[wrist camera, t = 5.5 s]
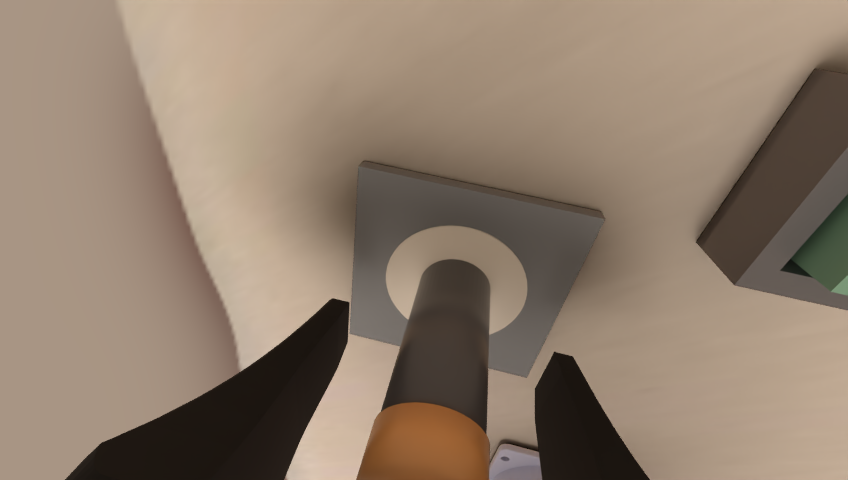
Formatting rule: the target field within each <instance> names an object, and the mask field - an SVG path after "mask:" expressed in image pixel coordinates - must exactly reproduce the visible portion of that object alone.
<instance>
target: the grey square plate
mask: <svg viewBox="0 0 848 480" xmlns="http://www.w3.org/2000/svg"><path fill="white" fill-rule="evenodd" d="M604 221H605V218H604V216H603V214H602V212H601V211H596V210H592V209H587V208H582V207H578V206H573V205H568V204H564V203H559V202H554V201H550V200H545V199H540V198H535V197H531V196H526V195H521V194H517V193H512V192H507V191H503V190H498V189H493V188H489V187H484V186H479V185H474V184H470V183H465V182H460V181H456V180H451V179H446V178H442V177H437V176H432V175H428V174H423V173H418V172H414V171H409V170H404V169H399V168H395V167H390V166H385V165H381V164H376V163H371V162H367V161H363V162H362V163H361V164H360V165H359V166H358V185H357V204H356V223H355V243H354V262H353V281H352V300H351V319H350V334H353V335H357V336H361V337H365V338H369V339H373V340H377V341H381V342H385V343H389V344H393V345H397V346H401V343H402V340H403V336H404V333H405V330H406V326H407V323H408V319H409V316H410V313H411V309H412V306H413V303H414V299H415V296H416V293H417V289H418V286H419V283H420V279H421V276H422V274H423V272H424V271H425V270H426V269H427V268H428V267H429V266H430V265H432V264H433V263H435V262H438V261H441V260H446V259H458V260H463V261H466V262H469V263H471V264H473V265H475V266H477V267H478V268H479V269H480V270H482V271H483V273H484V274H485V275H486V277H487V278H488V280H489V283H490V324H489V359H488V368H490V369H494V370H498V371H502V372H506V373H510V374H514V375H518V376H522V377H526V378H527V376H528V374H529V372H530V370H531V368H532V366H533V364H534V362H535V360H536V358H537V356H538V354H539V352H540V350H541V348H542V346H543V344H544V342H545V340H546V338H547V336H548V334H549V332H550V330H551V328H552V326H553V324H554V322H555V320H556V318H557V316H558V314H559V312H560V310H561V308H562V306H563V304H564V302H565V300H566V297H567V295H568V293H569V291H570V289H571V287H572V285H573V283H574V281H575V279H576V277H577V275H578V273H579V271H580V269H581V267H582V265H583V263H584V261H585V259H586V257H587V255H588V253H589V251H590V249H591V247H592V245H593V243H594V241H595V239H596V237H597V235H598V233H599V231H600V229H601V227H602V225H603V223H604Z"/></svg>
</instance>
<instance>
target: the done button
mask: <svg viewBox="0 0 848 480" xmlns="http://www.w3.org/2000/svg"><path fill="white" fill-rule="evenodd" d="M791 260H793V261H794V262H795V263H796V264H797V265H799V266H800V267H801V268H802V269H804V270H805V271H806V272H807V273H808V274H810V275H811V276H812V277H813V278H815V279H816V280H817V281H818V282H819V283H821V284H822V285H823V286H824V287H826V288H827V289H828V290H829V291H830V292H834V293H839V294H843V295H848V194H847V195H846V197H845V198H844V199H843V200H842V201H841V202H840V203H839V204H838V206H837V207H836V208H835V209H834V210H833V211H832V212H831V213H830V215H829V216H828V217H827V218H826V219H825V220H824V221H823V222H822V224H821V225H820V226H819V227H818V228H817V229H816V230H815V232H814V233H813V234H812V235H811V236H810V237H809V238H808V239H807V241H806V242H805V243H804V244H803V245H802V246H801V247H800V248H799V250H798V251H797V252H796V253H795V254H794V255H793V256H792V257H791Z"/></svg>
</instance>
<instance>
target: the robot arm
mask: <svg viewBox="0 0 848 480" xmlns="http://www.w3.org/2000/svg"><path fill="white" fill-rule="evenodd" d="M348 322H349V302H346V301H341V300H337V299H331V300H329V301H328V302H327V303H326V304H325V305H324V306H323V307H322V308H321V309H320V310H319V311H318V312H317V313H316V314H314V315H313V316H312V317H311V318H310V319H309V320H308V321H307V322H305V323H304V324H303V325H302V326H301V327H300V328H298V329H297V330H296V331H295V332H294V333H292V334H291V335H290V336H289V337H288V338H286V339H285V340H284V341H283V342H281V343H280V344H279V345H277V346H276V347H275V348H273V349H272V350H271V351H269V352H268V353H267V354H265V355H264V356H263V357H261V358H260V359H259V360H257V361H256V362H254V363H253V364H251V365H250V366H249V367H247V368H246V369H244V370H243V371H241V372H239V373H238V374H236V375H235V376H233V377H232V378H230V379H228V380H227V381H225V382H223V383H222V384H220V385H218V386H217V387H215V388H213V389H212V390H210V391H208V392H207V393H205V394H203V395H201V396H200V397H198V398H196V399H194V400H192V401H190V402H188V403H186V404H184V405H182V406H180V407H178V408H176V409H175V410H172V411H170V412H169V413H167V414H165V415H163V416H161V417H159V418H157V419H154V420H152V421H150V422H148V423H146V424H144V425H141V426H139V427H137V428H135V429H132V430H130V431H128V432H126V433H123V434H121V435H119V436H117V437H114V438H112V439H110V440H107V441H105V442H102V443H101V444H100V445H99V446H98V447H97V448H96V449H95V450H94V451H93V452H91V453H90V454H89V455H88V456H87V457H86V458H85V459H84V460H83V461H82V462H81V463H80V464H79V465H78V467H77V468H76V469H75V470H74V471H73V472H72V473H71V474H70V475H69V476H68V477H67V478H66V479H65V480H284V478H285V476H286V473H287V471H288V468H289V466H290V464H291V461H292V459H293V456H294V454H295V452H296V449H297V447H298V444H299V442H300V440H301V438H302V436H303V434H304V431H305V429H306V427H307V425H308V423H309V422H310V420H311V418H312V416H313V414H314V412H315V410H316V408H317V406H318V404H319V403H320V401H321V399H322V397H323V395H324V393H325V391H326V389H327V387H328V385H329V383H330V382H331V380H332V378H333V376H334V374H335V372H336V370H337V368H338V365H339V363H340V360H341V358H342V355H343V352H344V350H345V347H346V345H347V342H348ZM535 424H536V433H537V441H538V450H539V452H537V451H534V450H530V449H526V448H522V447H518V446H515V445H511V444H502V445H500V446H499V448H498V450H497V452H496V454H495V456H494V457H493V459H492V461H491V463H490V467H489V480H650V479H649V478H648V477H647V475H646V474H645V473H644V471H643V470H642V469H641V467H640V466H639V464H638V463H637V462H636V460H635V459H634V457H633V456H632V454H631V453H630V451H629V450H628V448H627V447H626V445H625V444H624V442H623V441H622V439H621V438H620V436H619V435H618V433H617V432H616V430H615V428H614V427H613V425H612V424H611V422H610V420H609V419H608V417H607V415H606V414H605V412H604V410H603V409H602V407H601V405H600V404H599V402H598V400H597V399H596V397H595V395H594V393H593V392H592V390H591V388H590V386H589V385H588V383H587V381H586V379H585V377H584V376H583V374H582V372H581V370H580V368H579V367H578V365H577V363H576V361H575V360H574V358H573V356H569V355H564V354H560V353H556V352H554V354H553V356H552V358H551V360H550V361H549V363H548V365H547V367H546V369H545V371H544V373H543V375H542V377H541V378H540V380H539V382H538V384H537V386H536V388H535Z"/></svg>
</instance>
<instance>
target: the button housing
mask: <svg viewBox="0 0 848 480" xmlns="http://www.w3.org/2000/svg"><path fill="white" fill-rule="evenodd" d="M847 194H848V74H845V73H838V72H832V71H825V70H819V69H815V70H814V71H813V73H812V74H811V76H810V77H809V78H808V80H807V81H806V83H805V84H804V86H803V87H802V89H801V90H800V92H799V93H798V94H797V96H796V97H795V99H794V100H793V102H792V103H791V105H790V106H789V108H788V109H787V111H786V112H785V113H784V115H783V116H782V118H781V119H780V121H779V122H778V124H777V125H776V127H775V128H774V130H773V131H772V132H771V134H770V135H769V137H768V138H767V140H766V141H765V143H764V144H763V146H762V147H761V148H760V150H759V151H758V153H757V154H756V156H755V157H754V159H753V160H752V162H751V163H750V165H749V166H748V167H747V169H746V170H745V172H744V173H743V175H742V176H741V178H740V179H739V181H738V182H737V184H736V185H735V186H734V188H733V189H732V191H731V192H730V194H729V195H728V197H727V198H726V200H725V201H724V203H723V204H722V205H721V207H720V208H719V210H718V211H717V213H716V214H715V216H714V217H713V219H712V220H711V221H710V223H709V224H708V226H707V227H706V229H705V230H704V232H703V233H702V235H701V236H700V238H699V239H698V240H697V242H696V243H697V244H698V245H699V246H700V247H701V248H702V249H703V251H704V252H705V253H706V254H707V255H708V256H709V257H710V258H711V260H712V261H713V262H714V263H715V264H716V265H717V266H718V267H719V269H720V270H721V271H722V272H723V273H724V274H725V275H726V276H727V278H728V279H729V280H730V281H731V282H732V283H733V284H734V285H736V286H740V287H745V288H749V289H754V290H758V291H763V292H767V293H772V294H776V295H781V296H785V297H790V298H794V299H799V300H803V301H808V302H812V303H817V304H821V305H826V306H830V307H835V308H839V309H844V310H848V295H843V294H839V293H834V292H830V291H829V290H828V289H827V288H826V287H824V286H823V285H822V284H821V283H819V282H818V281H817V280H816V279H815V278H813V277H812V276H811V275H810V274H808V273H807V272H806V271H805V270H804V269H802V268H801V267H800V266H799V265H797V264H796V263H795V262H794V261H793V260H791V257H792V256H793V255H794V254H795V253H796V252H797V251H798V250H799V248H800V247H801V246H802V245H803V244H804V243H805V242H806V241H807V239H808V238H809V237H810V236H811V235H812V234H813V233H814V232H815V230H816V229H817V228H818V227H819V226H820V225H821V224H822V222H823V221H824V220H825V219H826V218H827V217H828V216H829V215H830V213H831V212H832V211H833V210H834V209H835V208H836V207H837V206H838V204H839V203H840V202H841V201H842V200H843V199H844V198H845V197H846V195H847Z"/></svg>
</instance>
